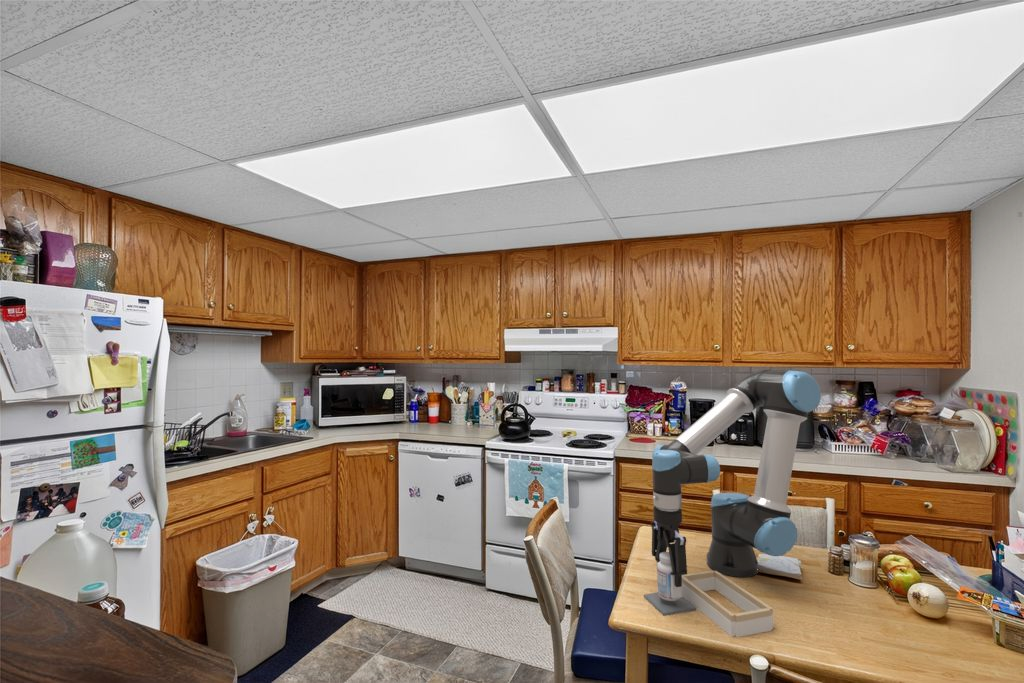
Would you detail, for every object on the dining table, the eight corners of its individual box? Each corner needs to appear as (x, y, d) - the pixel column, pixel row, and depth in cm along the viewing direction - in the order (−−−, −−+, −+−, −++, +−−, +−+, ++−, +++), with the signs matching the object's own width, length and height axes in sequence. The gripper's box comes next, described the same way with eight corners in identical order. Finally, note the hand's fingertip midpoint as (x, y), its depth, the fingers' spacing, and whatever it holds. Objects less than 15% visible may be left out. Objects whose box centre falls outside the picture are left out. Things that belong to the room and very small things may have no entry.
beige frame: (715, 586, 139) (715, 569, 139) (775, 629, 118) (774, 609, 118) (678, 592, 136) (678, 575, 136) (733, 638, 115) (732, 617, 115)
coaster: (674, 591, 137) (674, 589, 137) (696, 609, 127) (696, 607, 127) (643, 596, 134) (643, 594, 134) (663, 615, 125) (663, 613, 125)
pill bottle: (680, 592, 133) (679, 552, 133) (680, 603, 127) (679, 561, 127) (658, 589, 135) (657, 549, 135) (657, 599, 129) (656, 558, 129)
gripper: (637, 498, 140) (639, 577, 139) (675, 520, 121) (677, 611, 121) (660, 495, 141) (662, 573, 141) (700, 517, 123) (703, 606, 122)
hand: (669, 590), depth 131 cm, fingers closed on pill bottle, 6 cm apart
